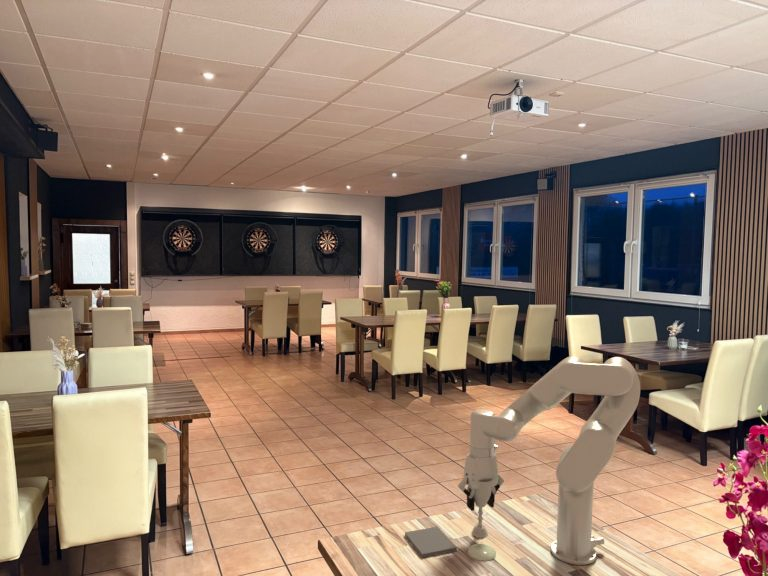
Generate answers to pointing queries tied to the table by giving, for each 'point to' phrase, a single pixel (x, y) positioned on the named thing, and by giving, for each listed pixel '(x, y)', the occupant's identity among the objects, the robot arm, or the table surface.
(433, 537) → the slate board
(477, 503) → the chalice
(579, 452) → the robot arm
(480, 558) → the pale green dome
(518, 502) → the table surface
